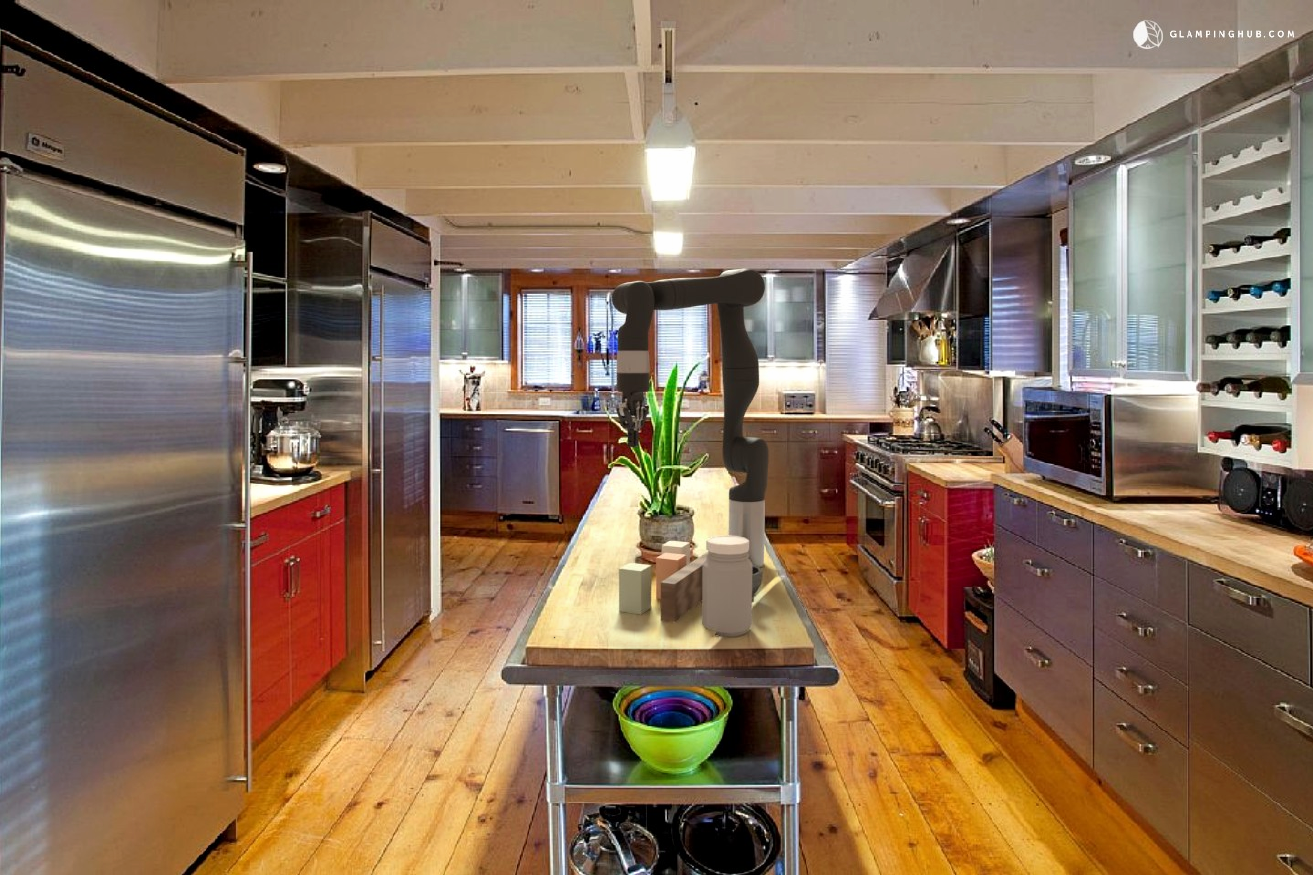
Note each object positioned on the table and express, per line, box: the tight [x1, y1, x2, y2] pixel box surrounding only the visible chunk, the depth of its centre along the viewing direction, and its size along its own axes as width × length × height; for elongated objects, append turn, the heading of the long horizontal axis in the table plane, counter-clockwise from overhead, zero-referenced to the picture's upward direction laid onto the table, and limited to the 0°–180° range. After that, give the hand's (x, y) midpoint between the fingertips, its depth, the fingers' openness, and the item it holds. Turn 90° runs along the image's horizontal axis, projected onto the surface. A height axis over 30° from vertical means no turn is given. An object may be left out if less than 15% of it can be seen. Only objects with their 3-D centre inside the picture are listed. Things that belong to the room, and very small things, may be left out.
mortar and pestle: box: [748, 556, 763, 603], centre depth 169 cm, size 11×9×12 cm
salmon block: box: [655, 553, 686, 600], centre depth 168 cm, size 5×5×9 cm
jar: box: [701, 534, 753, 638], centre depth 151 cm, size 10×10×18 cm
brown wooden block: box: [660, 551, 708, 623], centre depth 169 cm, size 30×18×9 cm, turn 156°
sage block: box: [618, 562, 652, 615], centre depth 159 cm, size 5×5×9 cm
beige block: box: [661, 540, 691, 566], centre depth 179 cm, size 5×5×9 cm
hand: (633, 446), depth 177 cm, fingers closed
